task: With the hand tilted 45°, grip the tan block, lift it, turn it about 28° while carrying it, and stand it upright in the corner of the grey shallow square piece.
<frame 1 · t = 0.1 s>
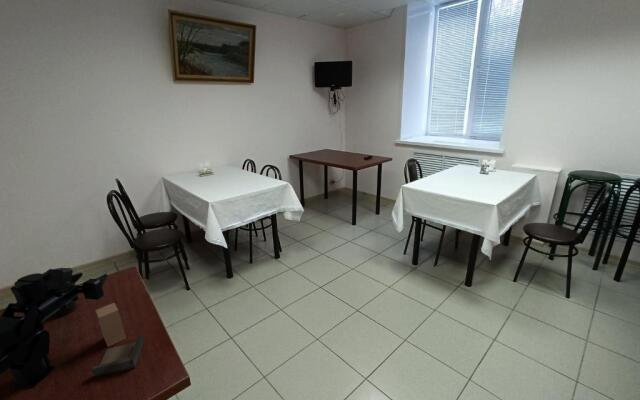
hand: (94, 274, 101), 17 cm above the table, tool horizontal, fingers open, 9 cm apart
coffee mug: (62, 311, 108), on the table
grey shallow square piece: (119, 357, 88), on the table
tan block: (115, 338, 95), on the table
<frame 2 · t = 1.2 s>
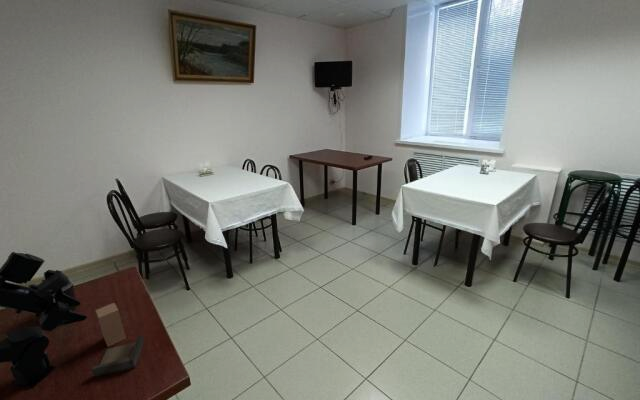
hand: (82, 310, 87), 14 cm above the table, tool tilted 45°, fingers open, 9 cm apart
nothing on the table moved.
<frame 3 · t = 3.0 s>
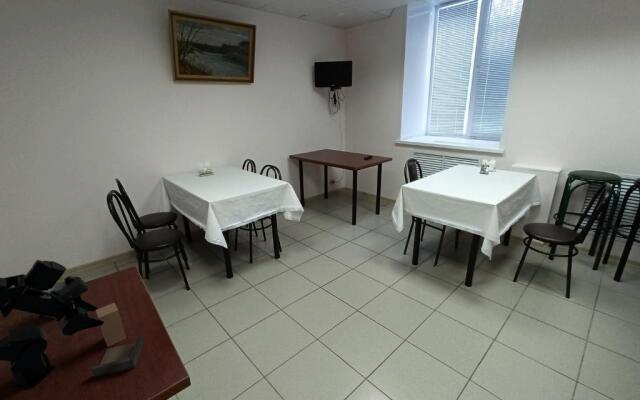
hand: (99, 315, 91), 10 cm above the table, tool tilted 45°, fingers open, 9 cm apart
nothing on the table moved.
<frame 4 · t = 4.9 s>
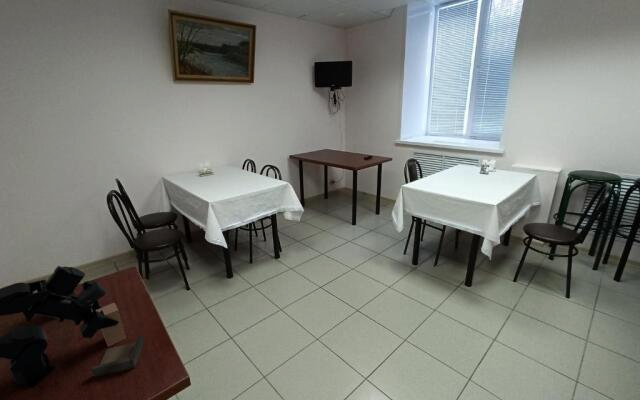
hand: (115, 319, 94), 7 cm above the table, tool tilted 45°, fingers closed on tan block, 5 cm apart
tan block: (115, 338, 95), on the table, touching gripper
everything else where it was.
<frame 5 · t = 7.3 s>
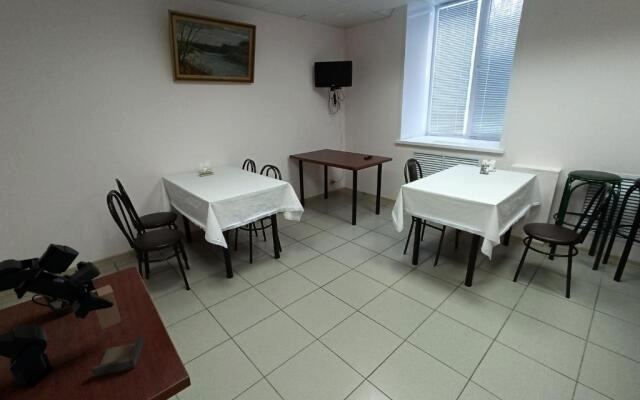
hand: (110, 301, 92), 13 cm above the table, tool tilted 45°, fingers closed on tan block, 5 cm apart
tan block: (110, 321, 93), point 7 cm above the table, touching gripper
everything else where it was.
when the fingers open (8 cm above the table, at t = 10.1 s): tan block stays where it is, resting on grey shallow square piece.
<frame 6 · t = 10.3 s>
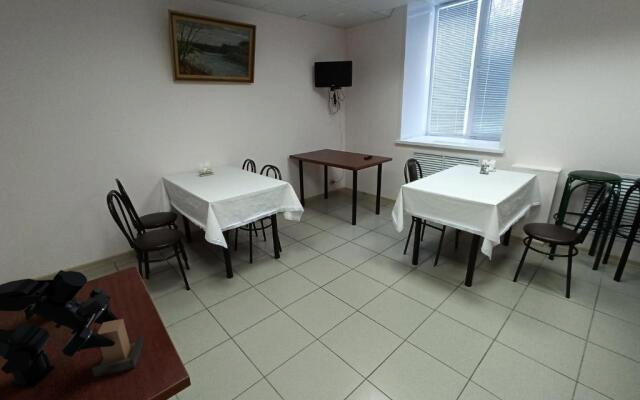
hand: (118, 335, 86), 8 cm above the table, tool tilted 45°, fingers open, 7 cm apart
tan block: (118, 356, 88), resting on grey shallow square piece
everything else where it was.
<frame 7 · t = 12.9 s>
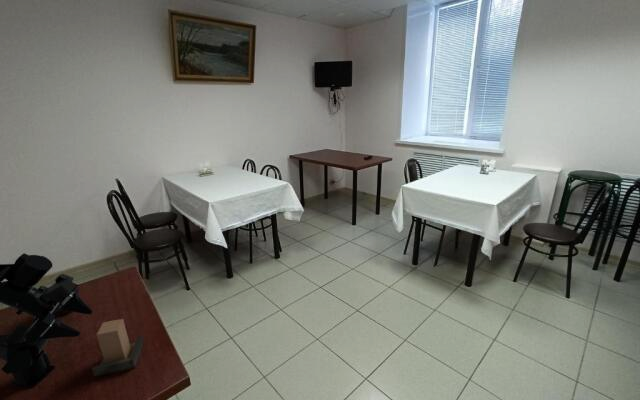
hand: (85, 323, 83), 14 cm above the table, tool tilted 45°, fingers open, 9 cm apart
nothing on the table moved.
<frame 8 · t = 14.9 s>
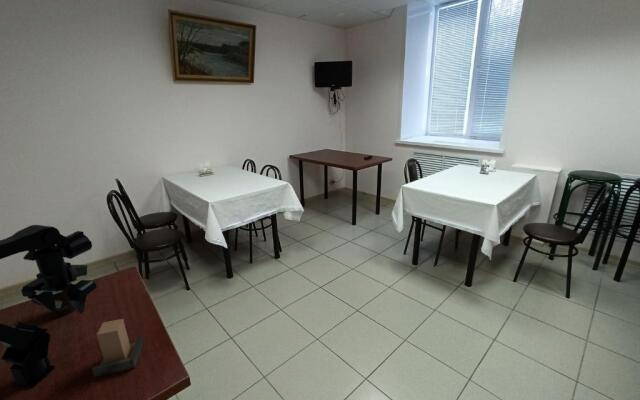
hand: (67, 312, 89), 12 cm above the table, tool pointing down, fingers open, 9 cm apart
nothing on the table moved.
at the end: tan block 0.0 cm off-centre on the grey shallow square piece, point 0.4 cm above the grey shallow square piece's base; tan block tilted 0°; the gripper is holding nothing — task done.
